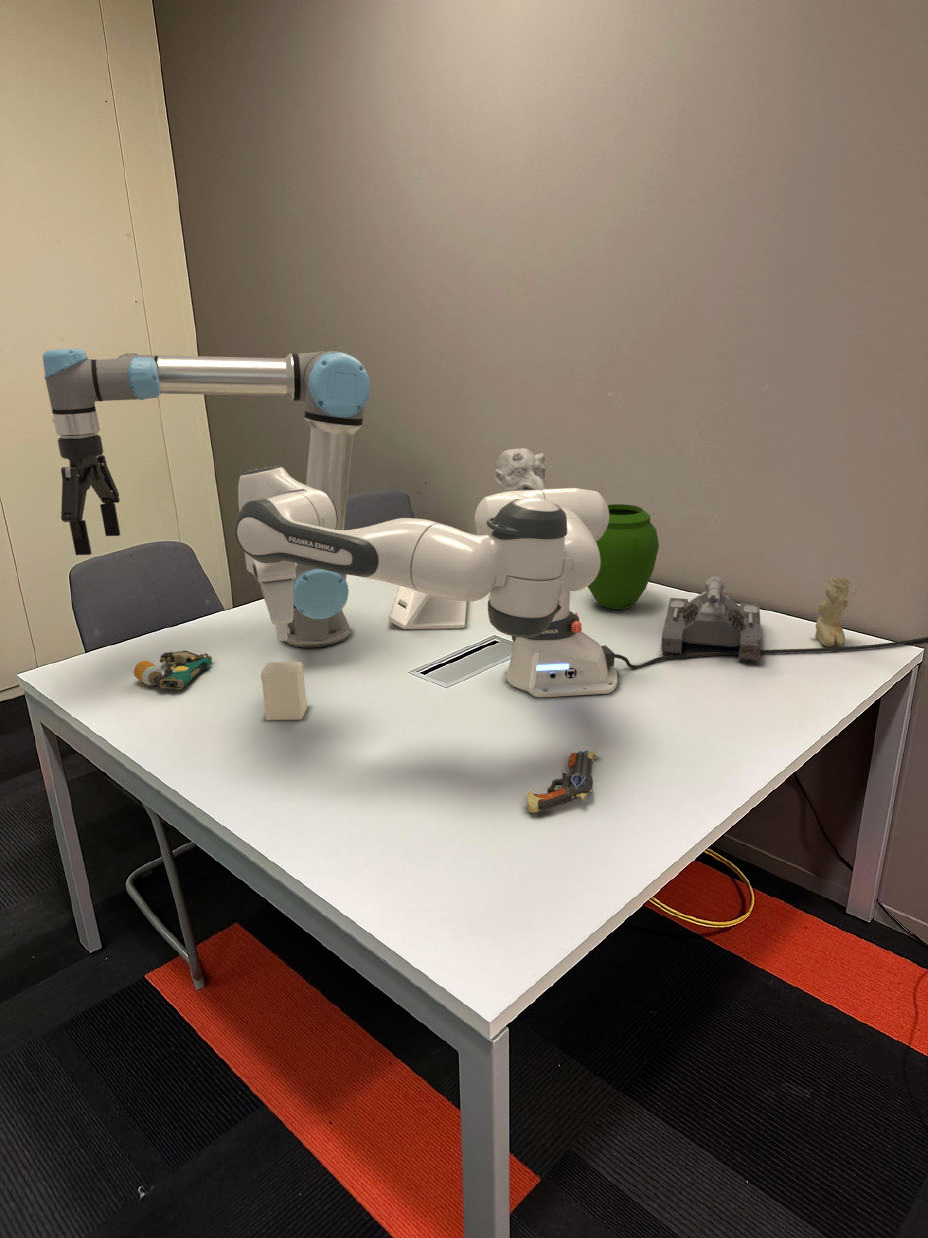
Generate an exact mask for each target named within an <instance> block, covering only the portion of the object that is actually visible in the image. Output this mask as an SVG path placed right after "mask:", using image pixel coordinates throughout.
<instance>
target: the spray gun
mask: <svg viewBox="0 0 928 1238" xmlns="http://www.w3.org/2000/svg"><path fill="white" fill-rule="evenodd" d="M212 660H213V657H212V656H211V655H208V653H207V652H205V653H201V654H197V653H194V652H192V651H191V652H190V651H188V650H180V651H169V652H164V653H162V654H161V655H160V658H159V660H158V662H159V663H161V664H163V663H165V664H166V668H165V670H163V672H164V674H163V673H162V669H160V668H159V666H157V665H156V664H154V663H152V662H151V661H149V660H141V661H139V662H138V663H136V665H135V666H134V668H133V675H134V677H135V678H136V679H137V680H139V681H140V682H142V683H143V684H145V685H147V686H155V685H157V686H158V687H160V688H161V689H171V690H172V689H173V690H182V689H184V687H185V686H186V685H188V684H189V683H190V682H191V681H192V679H193V678H195V677H196V676H197V675H198V674H200V673H201V672H202V671H203V670H206V669H208V668H209V667H210V666H211V665H212V662H213V661H212ZM178 663H179V664H181V665H179V666H176V665H177V664H178Z"/></svg>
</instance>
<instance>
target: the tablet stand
mask: <svg viewBox="0 0 928 1238" xmlns="http://www.w3.org/2000/svg"><path fill="white" fill-rule="evenodd" d="M399 603H400V604H399ZM402 605H403V606H405V607H403V606H402ZM467 605H468V601H459V600H452V599H446V598H441V597H437V596H433V595H429V594H426V593H422V592H419V591H416V590H413V589H410V588H407V587H403V586H400V585H399V586H398V589H397V591H396V595H395V598H394V601H393V604H392V607H391V610H390V612H389V613H390V614H389V617H388V621H389V622H391V623H392V624H394V625H396V626H398V627H399V628H401V629H402V630H426V629H427V630H429V629H430V630H431V629H435V630H436V629H437V630H438V629H464V628H465V627H466V618H467V617H466V616H467Z"/></svg>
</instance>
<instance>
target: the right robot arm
mask: <svg viewBox="0 0 928 1238" xmlns="http://www.w3.org/2000/svg"><path fill="white" fill-rule="evenodd" d="M237 496H238V498H237V499H238V511H239V512H238V515H237V516H236V517H237V518H236V521H235V530H234V531H235V537H236V541H237V543H238V545H239V547H240V548H241V549H242V550H243V551H244V559H245V567H246V571H247V572H249V573H251V574H252V575H253V576H254V579H255V580H256V581H257V582H258V583H259V584H260V590H261V594H262V597H263V600H264V603H265V605H266V610H267V612H268V615H269V619H270V622H271V624H272V625H274V627H275V634H276V640H277V641H278V642H285V641H286V640H287V639H288V636H287V625H288V624H287V623H291V622H292V621H293V614H294V599H293V578H296V571H295V568H296V566H297V563H298V564H303V565H307V566H311V567H315V568H319V569H324V570H328V571H332V572H337V573H341V574H346V576H355V577H359V578H364V579H370V580H375V581H380V582H385V583H388V584H393V585H397V586H399V587H400V586H403V587H407V588H408V589H410V590H412V591H415V590H416V591H419V592H422V593H426V594H429V595H433V596H437V597H441V598H446V599H452V600H459V601H467V602H478V601H480V600H482V599H484V598H485V597H487V596H488V595H489V599H488V601H487V614H488V619H489V623H490V624H491V626H492V627H493V628H495V629H496V630H497V631H498V632H500V633H502V634H504V635H507V636H511V640H512V645H511V646H512V647H511V655H510V660H509V665H508V669H507V672H506V675H505V678H506V681H507V683H509V684H510V685H511V686H513V687H515V688H517V689H519V690H522V691H525V692H527V693H529V694H530V695H531V696H533V697H535V698H556V697H572V696H573V697H574V696H588V695H589V696H590V695H591V696H592V695H607V694H611V693H612V692H613V691H615V690H616V688H617V686H618V673H617V670H616V668H615V667H614V666H615V659H619V660H622V661H624V663H625V664H626V666H627V667H628V668H629V669H633V670H636V669H641V668H645V667H648V666H650V665H652V664H654V663H657V662H660V661H665V660H672V659H673V660H674V659H683V658H684V659H685V658H696V657H709V656H710V657H711V656H712V657H713V656H729V655H730V656H731V655H739V650H726V651H725V650H724V651H723V650H722V651H710V652H709V651H708V652H695V653H693V652H692V653H681V654H680V655H663V656H658V657H655V658H653V659H650V660H648V661H646V662H644V663H642V664H632V663H631V662H630V660H629V658H627V657H626V656H624V655H622V654H617V653H615V652H614V651H613V650H612V649H610V647H608V646H607V645H601V644H600V643H599V642H598V641H596V640H595V639H593V638H591V637H590V636H589V635H587V634H586V633H585V632H583V631H582V630H583V626H582V625H583V624H582V622H581V621H580V616H579V615H578V612H577V611H575V613H574V612H573V611H571V610H570V600H571V592H577V591H578V592H579V591H582V590H583V589H586V588H588V586H589V585H590V584H591V583H592V582H593V581H594V580H595V578H596V577H597V575H598V573H599V570H600V564H601V560H600V552H599V549H598V545H597V543H596V541H597V540H599V539H600V538H601V537H602V536H603V534H604V533H605V531H606V529H607V526H608V523H609V509H608V506H607V505H608V503H607V501H606V499H605V498H604V497H603V496H602V494H601V493H600V492H599V491H597V490H591V489H585V488H579V487H566V488H565V487H564V488H562V487H561V488H546V489H541V490H522V491H507V492H503V491H502V492H498V493H494V494H491V495H487V496H484V497H483V498H482V499H481V501H480V502H479V503H478V505H477V507H476V510H475V513H474V519H473V520H474V528H475V532H476V534H473V533H470V532H466V531H463V530H461V529H458V528H455V527H453V526H449V525H446V524H445V523H441V522H437V521H433V520H430V519H426V518H425V519H424V518H414V517H413V518H412V517H400V518H395V519H390V520H387V521H384V522H379V523H376V524H372V525H369V526H365V527H359V528H354V529H346V530H345V529H344V530H336V528H337V524H338V515H337V510H336V507H335V504H334V502H333V501H332V499H331V498H330V497H329V496H328V495H327V494H326V493H325V492H324V491H322V490H320V489H316V488H311V487H309V486H306V484H304V483H302V482H300V481H298V480H297V479H295V478H293V477H292V476H291V475H290V474H289V473H288V472H287V470H286V469H285V468H284V467H283V466H279V465H267V466H263V467H257V468H254V469H249V470H247V471H245V472H243V473H242V474H241V475H240V476H239V480H238V487H237ZM927 641H928V636H925V637H919V638H914V639H913V638H912V639H907V640H901V641H899V640H898V641H893V642H884V643H876V644H875V643H874V644H865V645H864V644H863V645H853V646H852V645H851V646H838V647H837V646H833V647H815V648H814V647H812V648H788V649H787V648H783V649H761V652H760V654H788V653H790V654H791V653H792V654H793V653H820V652H822V653H823V652H841V651H855V650H866V649H867V650H868V649H869V650H870V649H878V648H886V647H896V646H901V645H902V646H903V645H908V644H915V643H922V642H927Z"/></svg>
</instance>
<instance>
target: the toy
mask: <svg viewBox="0 0 928 1238" xmlns="http://www.w3.org/2000/svg"><path fill="white" fill-rule="evenodd" d="M704 589H705V590H704V591H702V592H701V593H700V594H698V595H697V596H696V597H694V598H693V599H691V600H690V601H689V598H679V597H670V598H669V602H668V605H667V611H666V615H665V620H664V625H663V629H662V635H661V648H660V649H661V652H662V655H666V656H670V655H680V654H682V650H683V643H686V644H690V645H703V646H715V647H727V648H734V647H738V651H739V654H738V660H739V661H740V660H742V661H755V662H758V660H760V657H761V653H760V652H761V650H762V628H761V610H760V609H761V608H760V603H751V602H750V603H749V602H740V603H737V602H736V601H735V600H734V599H732V597H730V595H727V594H725V593H724V589H725V582H724V580H723V579H722V578H721V577H720V576H717V575H716V576H715V575H714V576H712V575H711V576H710V577H709V578H708V579H707V580H705V582H704Z"/></svg>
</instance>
